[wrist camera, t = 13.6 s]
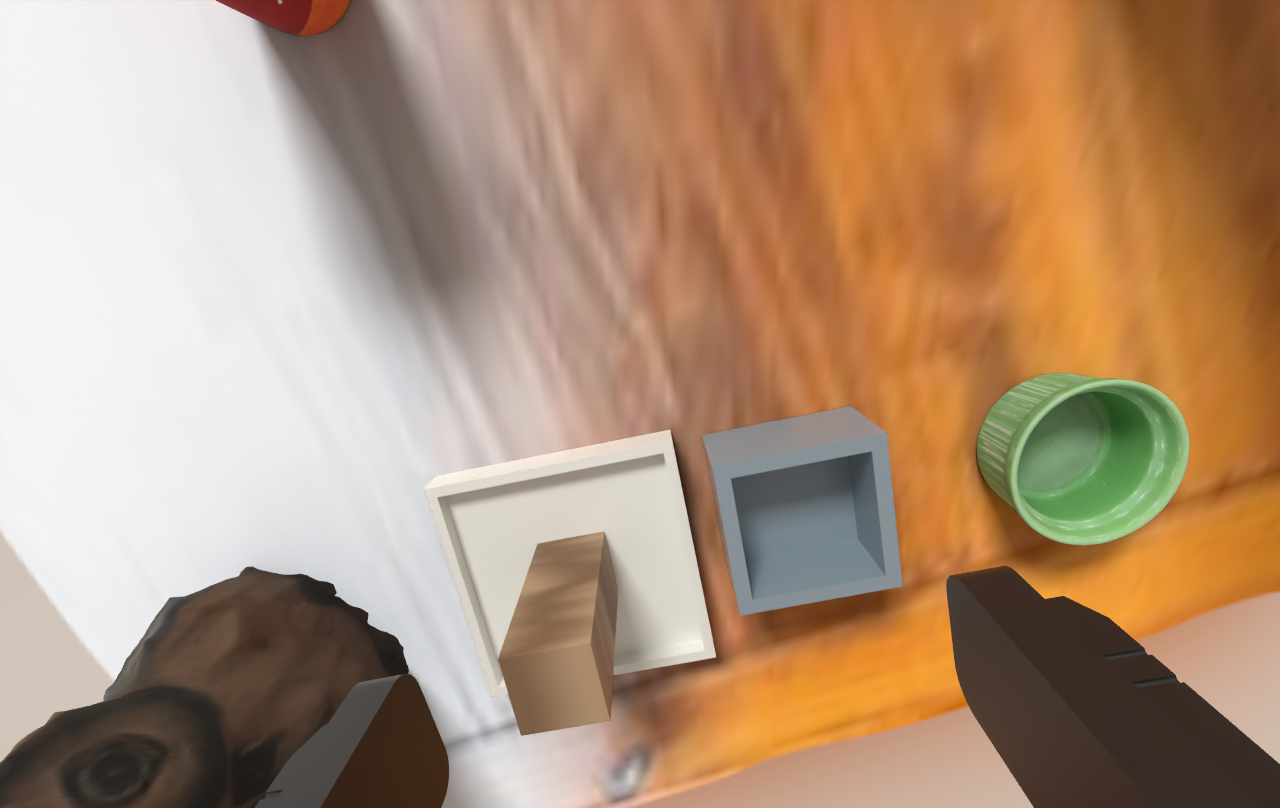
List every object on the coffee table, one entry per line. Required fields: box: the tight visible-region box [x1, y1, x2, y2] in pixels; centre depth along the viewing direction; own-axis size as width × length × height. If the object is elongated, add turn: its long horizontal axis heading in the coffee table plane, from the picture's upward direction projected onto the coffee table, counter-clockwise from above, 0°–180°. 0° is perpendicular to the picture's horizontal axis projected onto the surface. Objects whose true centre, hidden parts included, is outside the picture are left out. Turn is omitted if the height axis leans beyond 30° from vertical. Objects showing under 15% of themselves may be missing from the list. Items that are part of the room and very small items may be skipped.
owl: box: [0, 567, 409, 808], centre depth 28 cm, size 13×13×20 cm
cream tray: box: [424, 430, 716, 697], centre depth 35 cm, size 14×14×2 cm
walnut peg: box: [498, 532, 618, 736], centre depth 30 cm, size 4×4×10 cm
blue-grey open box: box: [702, 406, 903, 616], centre depth 32 cm, size 9×9×5 cm
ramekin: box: [977, 373, 1189, 545], centre depth 32 cm, size 9×9×4 cm
